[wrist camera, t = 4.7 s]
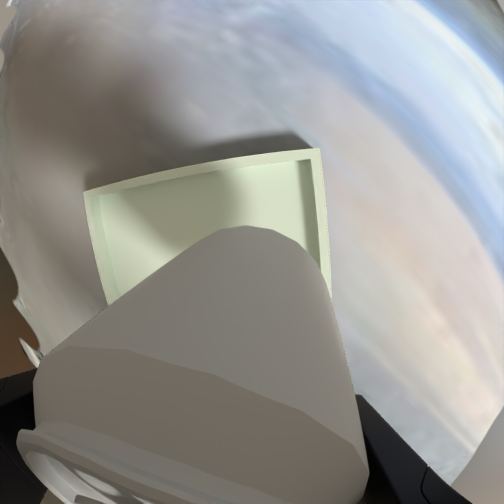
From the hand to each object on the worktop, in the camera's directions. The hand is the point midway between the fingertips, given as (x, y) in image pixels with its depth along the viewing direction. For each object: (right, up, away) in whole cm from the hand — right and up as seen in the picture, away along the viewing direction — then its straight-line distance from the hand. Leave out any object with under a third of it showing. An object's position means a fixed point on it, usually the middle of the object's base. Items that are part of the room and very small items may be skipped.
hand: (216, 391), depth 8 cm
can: (+1, +2, +7) cm, 7 cm away
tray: (-2, +2, +13) cm, 14 cm away
